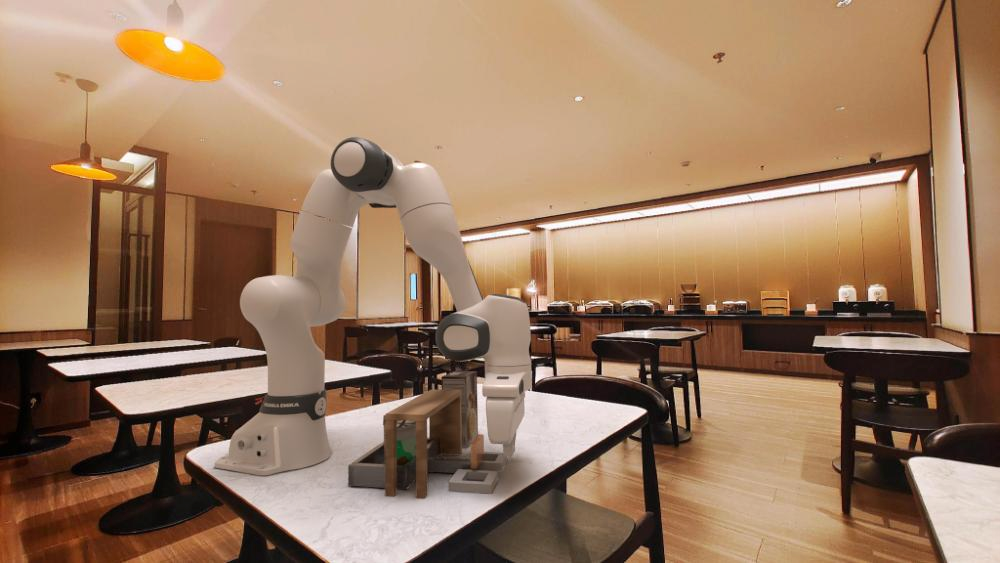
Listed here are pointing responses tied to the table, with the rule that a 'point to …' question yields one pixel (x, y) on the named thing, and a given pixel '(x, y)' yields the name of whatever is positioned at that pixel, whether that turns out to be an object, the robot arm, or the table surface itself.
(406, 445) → the food container
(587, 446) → the table surface
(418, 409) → the brown wooden bench
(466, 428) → the coffee box
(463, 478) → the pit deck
